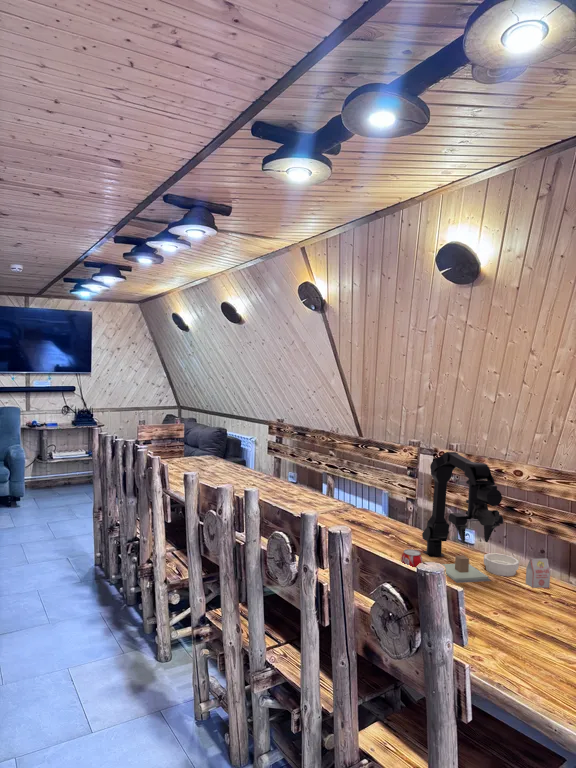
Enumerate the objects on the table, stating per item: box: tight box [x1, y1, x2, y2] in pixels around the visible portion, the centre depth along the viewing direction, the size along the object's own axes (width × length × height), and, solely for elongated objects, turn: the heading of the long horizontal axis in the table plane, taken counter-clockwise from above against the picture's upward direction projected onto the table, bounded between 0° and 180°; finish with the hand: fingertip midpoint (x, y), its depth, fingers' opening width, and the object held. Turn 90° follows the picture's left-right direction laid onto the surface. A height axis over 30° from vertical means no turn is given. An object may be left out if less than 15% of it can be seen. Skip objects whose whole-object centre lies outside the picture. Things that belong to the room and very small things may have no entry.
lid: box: [442, 555, 489, 582], centre depth 191 cm, size 14×14×6 cm
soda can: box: [400, 548, 423, 567], centre depth 177 cm, size 7×7×12 cm
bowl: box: [483, 552, 520, 577], centre depth 194 cm, size 12×12×5 cm
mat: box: [446, 575, 492, 584], centre depth 191 cm, size 17×14×1 cm
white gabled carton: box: [525, 558, 551, 590], centre depth 182 cm, size 4×7×10 cm, turn 99°
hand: (474, 542), depth 182 cm, fingers open, 9 cm apart
